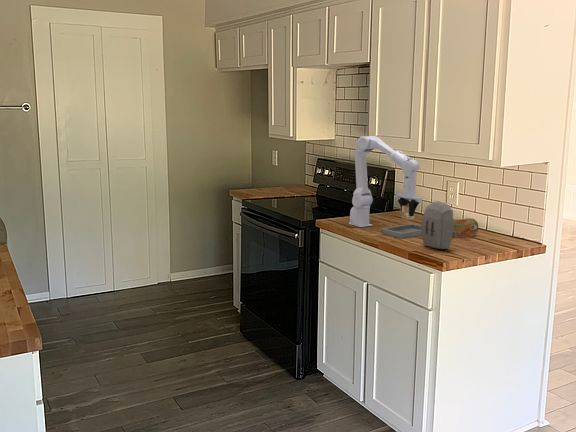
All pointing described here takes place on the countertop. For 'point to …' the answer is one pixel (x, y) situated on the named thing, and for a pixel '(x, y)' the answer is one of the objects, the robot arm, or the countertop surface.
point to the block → (406, 213)
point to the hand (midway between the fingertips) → (407, 215)
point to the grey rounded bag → (437, 225)
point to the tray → (403, 231)
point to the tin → (464, 227)
